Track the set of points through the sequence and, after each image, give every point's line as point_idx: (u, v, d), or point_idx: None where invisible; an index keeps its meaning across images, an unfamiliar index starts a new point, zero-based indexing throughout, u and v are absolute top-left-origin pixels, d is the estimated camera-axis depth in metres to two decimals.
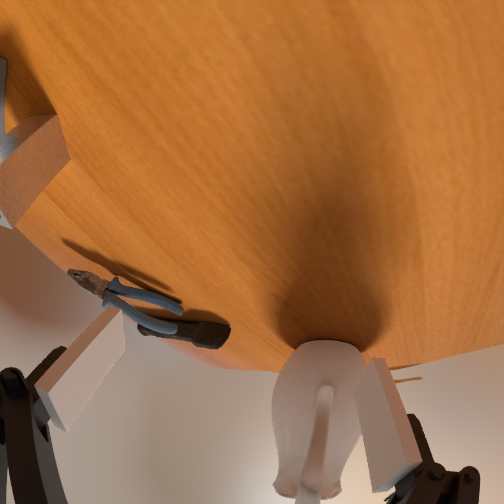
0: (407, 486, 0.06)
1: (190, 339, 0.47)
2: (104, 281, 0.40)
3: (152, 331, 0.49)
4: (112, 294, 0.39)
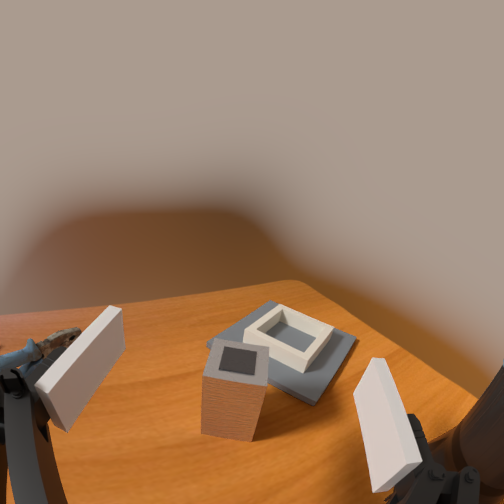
0: (407, 486, 0.06)
1: None
2: None
3: None
4: (35, 359, 0.25)
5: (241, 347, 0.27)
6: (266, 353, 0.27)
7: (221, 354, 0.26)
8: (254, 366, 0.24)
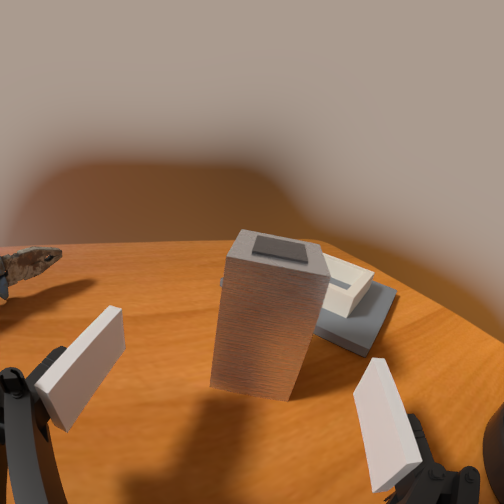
0: (407, 486, 0.06)
1: None
2: (14, 280, 0.20)
3: None
4: None
5: (280, 240, 0.19)
6: (317, 248, 0.19)
7: (254, 241, 0.18)
8: (305, 255, 0.17)
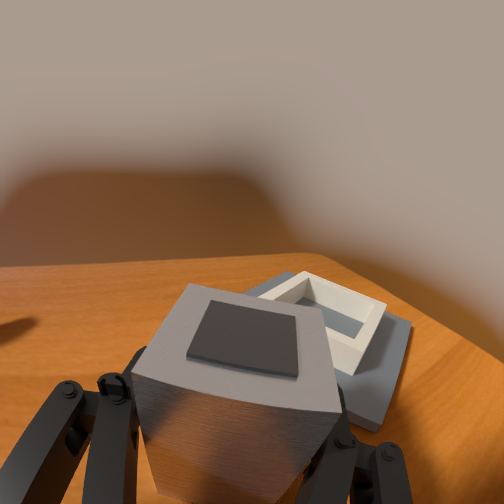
0: (318, 457, 0.08)
1: None
2: None
3: None
4: None
5: (253, 306, 0.11)
6: (318, 322, 0.10)
7: (200, 318, 0.09)
8: (294, 352, 0.08)
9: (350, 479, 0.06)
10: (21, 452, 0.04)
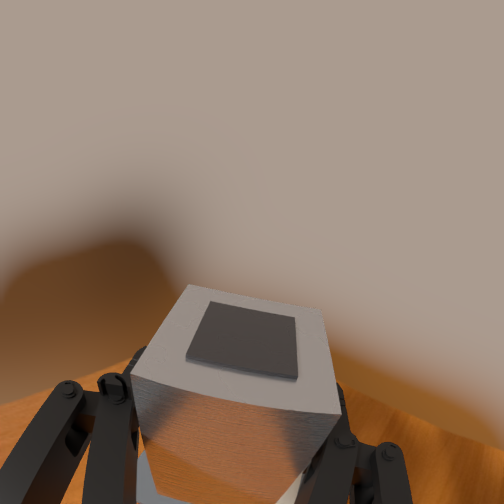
0: (318, 457, 0.08)
1: None
2: None
3: None
4: None
5: (253, 308, 0.11)
6: (317, 323, 0.10)
7: (199, 319, 0.09)
8: (293, 354, 0.08)
9: (350, 479, 0.06)
10: (21, 452, 0.04)
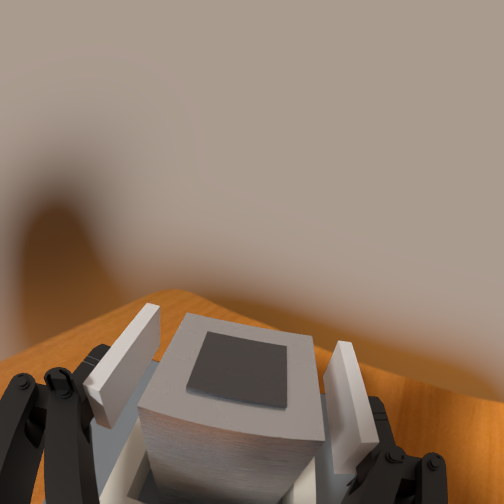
0: (366, 470, 0.08)
1: None
2: None
3: None
4: None
5: (247, 336, 0.11)
6: (308, 350, 0.11)
7: (198, 350, 0.10)
8: (283, 384, 0.09)
9: (395, 493, 0.06)
10: None
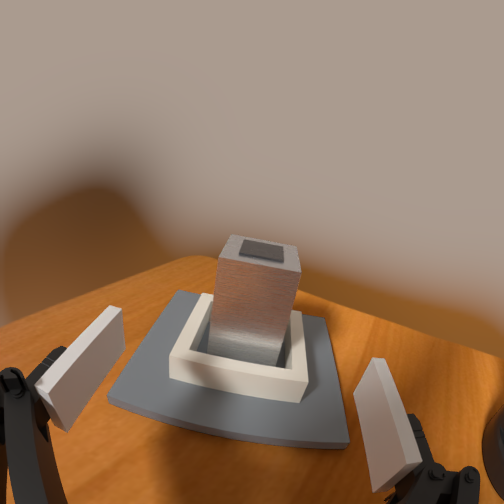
0: (407, 486, 0.06)
1: None
2: None
3: None
4: None
5: (263, 243, 0.23)
6: (294, 250, 0.23)
7: (241, 244, 0.22)
8: (282, 255, 0.21)
9: None
10: None
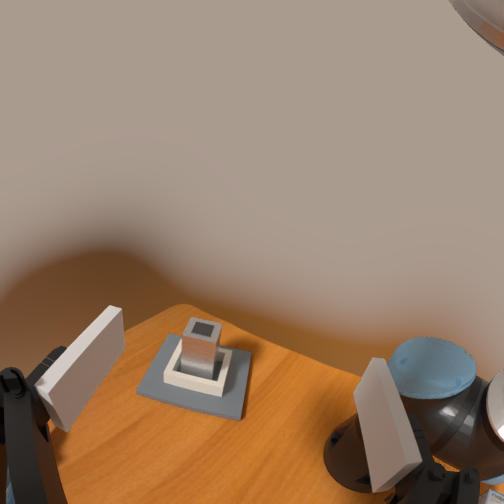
0: (407, 486, 0.06)
1: None
2: None
3: None
4: None
5: (205, 323, 0.47)
6: (219, 327, 0.47)
7: (193, 325, 0.46)
8: (211, 332, 0.45)
9: None
10: None
